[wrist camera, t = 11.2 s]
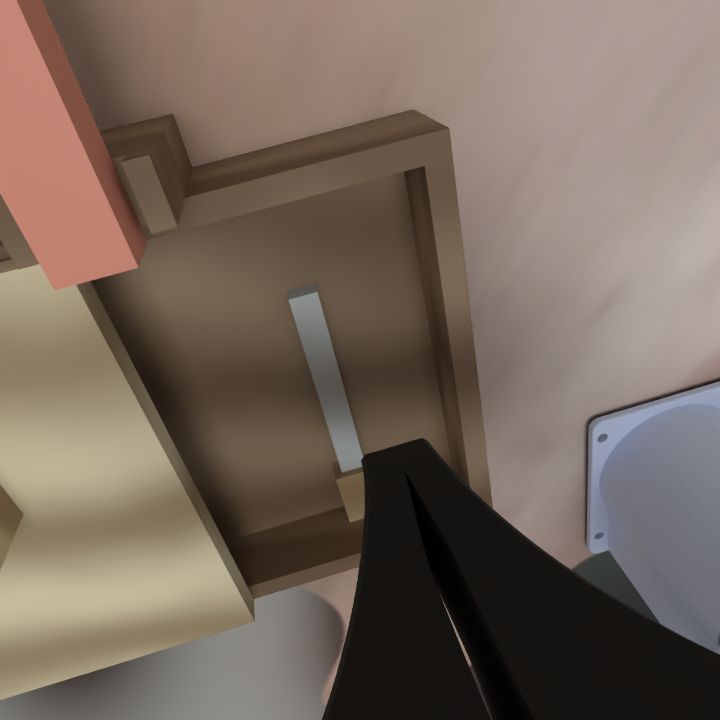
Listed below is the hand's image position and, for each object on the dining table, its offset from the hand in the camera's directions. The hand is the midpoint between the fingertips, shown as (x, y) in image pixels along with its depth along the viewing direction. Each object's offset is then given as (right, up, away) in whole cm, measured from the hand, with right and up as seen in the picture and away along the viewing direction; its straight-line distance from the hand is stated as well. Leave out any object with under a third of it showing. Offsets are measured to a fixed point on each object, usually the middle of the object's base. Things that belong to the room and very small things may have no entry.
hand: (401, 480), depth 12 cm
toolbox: (-6, +1, +10) cm, 12 cm away
